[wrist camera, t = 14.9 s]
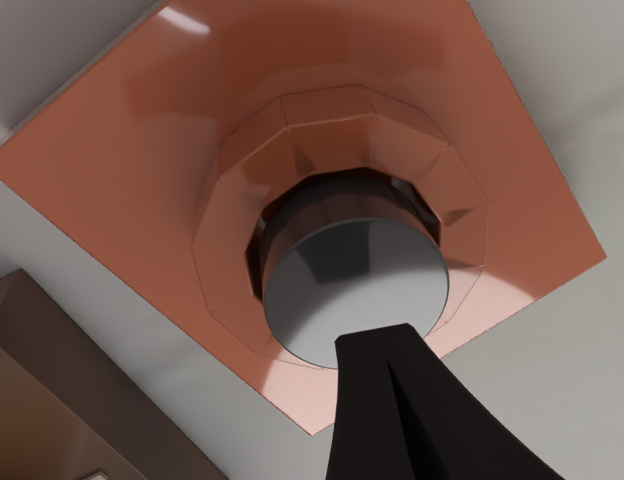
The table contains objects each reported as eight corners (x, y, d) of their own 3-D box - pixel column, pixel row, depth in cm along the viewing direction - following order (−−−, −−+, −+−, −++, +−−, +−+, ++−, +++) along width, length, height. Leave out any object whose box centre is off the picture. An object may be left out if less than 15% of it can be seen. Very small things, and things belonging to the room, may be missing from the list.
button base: (5, 132, 15) (-57, 205, 12) (351, -171, 13) (395, -187, 9) (304, 393, 22) (319, 489, 18) (575, 224, 19) (650, 299, 16)
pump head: (223, 242, 14) (223, 294, 12) (365, 139, 13) (386, 180, 11) (323, 339, 16) (335, 397, 14) (452, 256, 15) (482, 306, 13)
